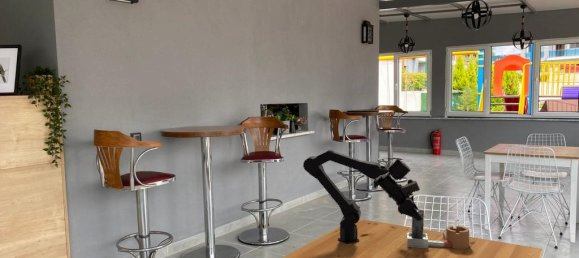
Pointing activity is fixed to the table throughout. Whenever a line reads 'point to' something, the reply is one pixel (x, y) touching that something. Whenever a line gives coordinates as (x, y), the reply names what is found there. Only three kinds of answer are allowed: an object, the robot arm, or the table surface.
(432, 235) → the table surface
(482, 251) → the table surface
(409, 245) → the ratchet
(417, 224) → the dark metal cylinder
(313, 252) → the table surface
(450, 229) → the bracket
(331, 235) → the table surface
